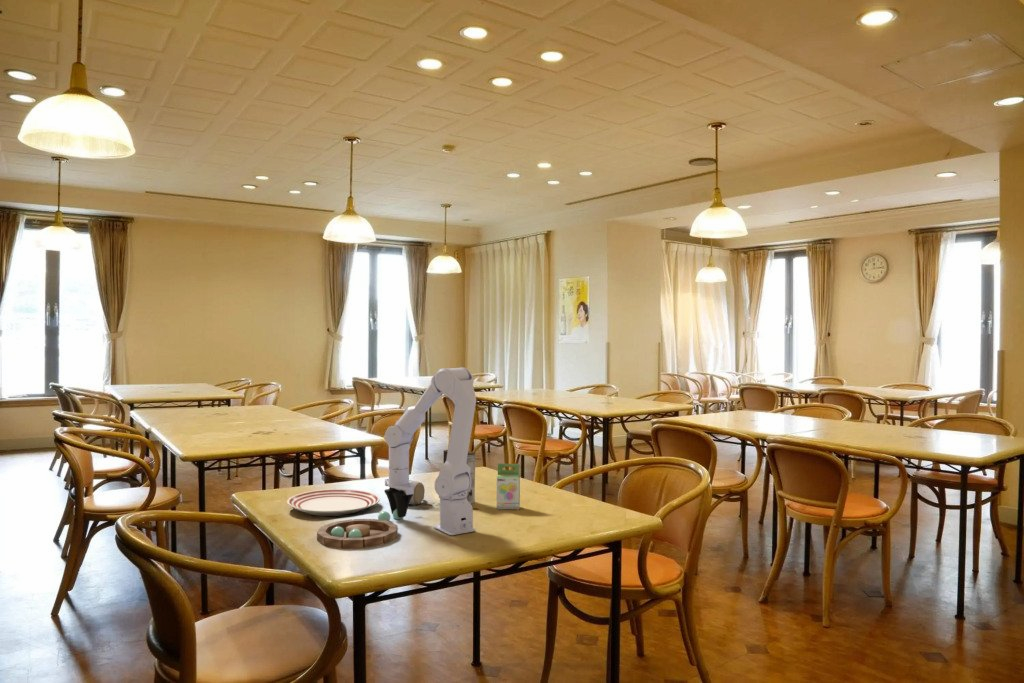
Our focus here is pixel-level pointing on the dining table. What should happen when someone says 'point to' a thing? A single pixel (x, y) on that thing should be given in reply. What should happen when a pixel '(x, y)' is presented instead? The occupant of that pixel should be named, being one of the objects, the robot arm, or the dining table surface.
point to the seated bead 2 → (355, 534)
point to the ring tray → (373, 540)
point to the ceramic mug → (417, 493)
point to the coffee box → (471, 464)
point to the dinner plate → (333, 501)
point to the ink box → (508, 487)
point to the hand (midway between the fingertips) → (398, 515)
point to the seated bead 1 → (337, 532)
